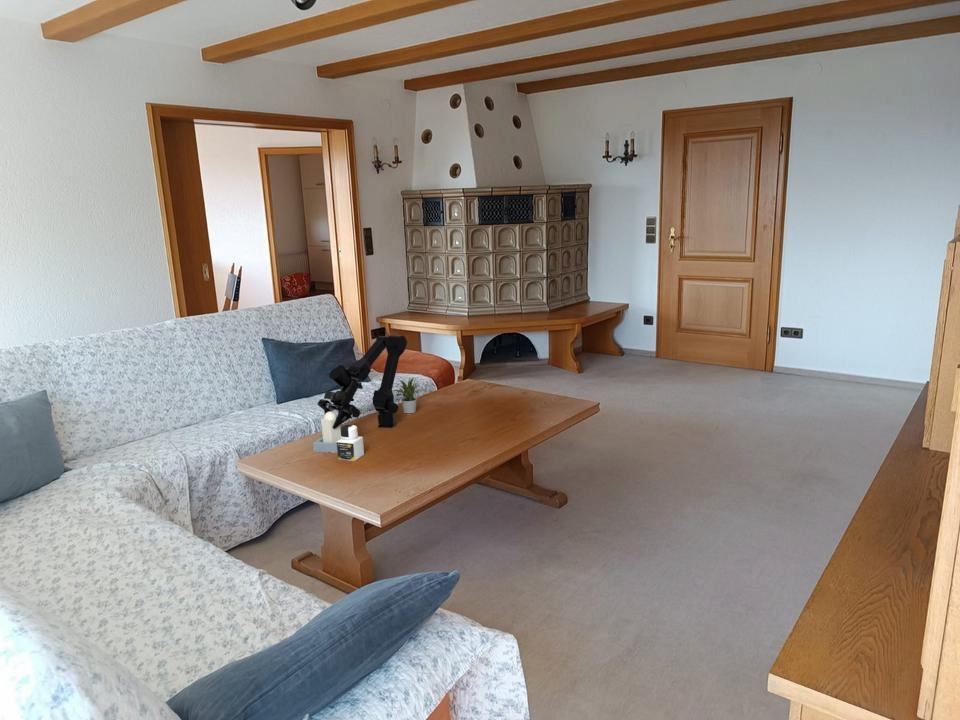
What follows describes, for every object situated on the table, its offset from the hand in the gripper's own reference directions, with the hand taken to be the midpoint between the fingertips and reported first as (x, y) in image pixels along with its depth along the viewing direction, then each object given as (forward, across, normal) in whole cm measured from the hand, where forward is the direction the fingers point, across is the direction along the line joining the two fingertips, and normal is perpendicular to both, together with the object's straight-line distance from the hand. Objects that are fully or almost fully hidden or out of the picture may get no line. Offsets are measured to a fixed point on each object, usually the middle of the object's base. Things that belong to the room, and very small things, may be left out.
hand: (328, 427), depth 253 cm
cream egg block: (+4, 0, +6) cm, 7 cm away
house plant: (-31, -5, +43) cm, 53 cm away
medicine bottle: (+8, +14, +4) cm, 17 cm away
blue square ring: (+5, 0, +7) cm, 9 cm away
